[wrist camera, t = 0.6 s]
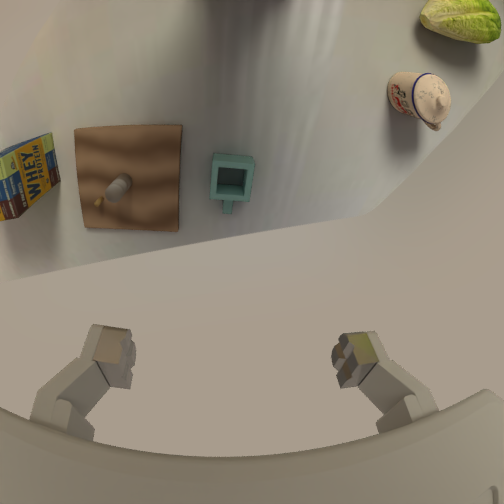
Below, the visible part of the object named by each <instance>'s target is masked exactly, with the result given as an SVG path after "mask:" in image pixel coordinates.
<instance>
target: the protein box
mask: <svg viewBox="0 0 504 504" xmlns="http://www.w3.org/2000/svg"><path fill="white" fill-rule="evenodd" d="M58 182H60V176H59V171H58V167H57V161H56V156H55V150H54V144H53V138H52V133H48V134H45V135H42V136H39V137H36V138H33V139H30V140H27V141H25V142H22V143H19V144H16V145H14V146H11V147H9V148H6V149H4V150H3V151H1V152H0V221H4V220H9V219H14V218H19V217H20V216H21V215H22V214H23V213H24V212H25V211H26V210H27V209H28V208H29V207H31V206H32V205H33V204H34V203H35V202H36V201H37V200H38V199H40V198H41V197H42V196H43V195H44V194H45V193H46V192H48V191H49V190H50V189H51V188H52V187H53V186H55V185H56V184H57V183H58Z"/></svg>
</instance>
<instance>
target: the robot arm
mask: <svg viewBox="0 0 504 504" xmlns="http://www.w3.org/2000/svg"><path fill="white" fill-rule="evenodd" d="M131 337H132V334H131V330H130V329H123V328H116V327H109V326H104V325H97V324H93V325H92V326H91V327H90V330H89V332H88V335H87V338H86V341H85V344H84V346H83V350H82V352H81V356H80V358H75V359H74V360H73V361H72V362H71V363H69V364H68V365H67V366H66V367H65V368H64V369H63V370H61V371H60V372H59V373H58V374H56V375H55V376H54V377H53V378H52V379H51V380H50V381H48V382H47V383H46V384H45V385H44V386H43V387H41V388H40V389H39V390H38V392H37V395H36V398H35V401H34V405H33V408H32V412H31V416H30V420H27V419H25V418H23V417H20V416H18V415H16V414H14V413H12V412H9V411H7V410H5V409H3V408H1V407H0V504H504V400H502V399H501V398H500V397H499V396H498V395H496V394H495V393H494V392H492V391H490V390H488V389H483V390H481V391H479V392H477V393H475V394H474V395H472V396H470V397H468V398H466V399H464V400H462V401H460V402H458V403H457V404H454V405H452V406H450V407H448V408H446V409H444V410H441V411H439V410H438V407H437V405H436V403H435V400H434V398H433V396H432V394H431V392H430V389H429V388H428V387H427V386H425V385H424V384H423V383H422V382H420V381H419V380H418V379H416V378H415V377H414V376H413V375H411V374H410V373H409V372H407V371H406V370H405V369H404V368H402V367H401V366H400V365H398V364H397V363H396V362H394V361H393V360H389V357H388V355H387V353H386V351H385V349H384V347H383V345H382V343H381V341H380V339H379V337H378V334H377V333H376V332H375V331H367V332H354V333H343V334H342V335H340V337H339V343H338V344H337V345H335V346H334V348H333V350H332V355H331V358H332V363H333V367H334V368H336V369H337V370H338V373H337V375H336V376H337V379H338V382H339V385H340V388H348V387H356V386H358V388H359V389H360V390H361V391H362V392H363V393H364V394H365V395H366V396H367V397H368V398H369V399H370V400H371V401H372V403H373V404H374V405H375V406H376V407H377V408H378V409H379V410H380V411H381V412H382V413H383V414H384V415H383V416H382V417H381V418H380V419H379V420H377V422H376V426H377V429H378V432H379V434H377V435H373V436H370V437H366V438H363V439H359V440H355V441H351V442H346V443H342V444H338V445H333V446H328V447H323V448H317V449H311V450H305V451H298V452H291V453H283V454H273V455H261V456H242V457H199V456H182V455H169V454H160V453H152V452H145V451H138V450H132V449H126V448H121V447H116V446H111V445H107V444H102V443H98V442H94V441H93V437H94V430H95V429H94V428H93V426H92V425H91V424H90V423H89V422H88V421H87V420H86V419H85V416H86V415H87V414H88V413H89V412H90V411H91V409H92V408H93V407H94V406H95V405H96V404H97V402H98V401H99V400H100V399H101V398H102V397H103V395H104V394H105V393H106V392H107V390H109V388H110V387H117V388H124V389H130V386H131V381H132V376H133V374H132V372H131V368H132V367H133V366H134V365H135V359H136V348H135V343H134V342H133V341H132V340H131ZM109 386H110V387H109Z"/></svg>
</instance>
